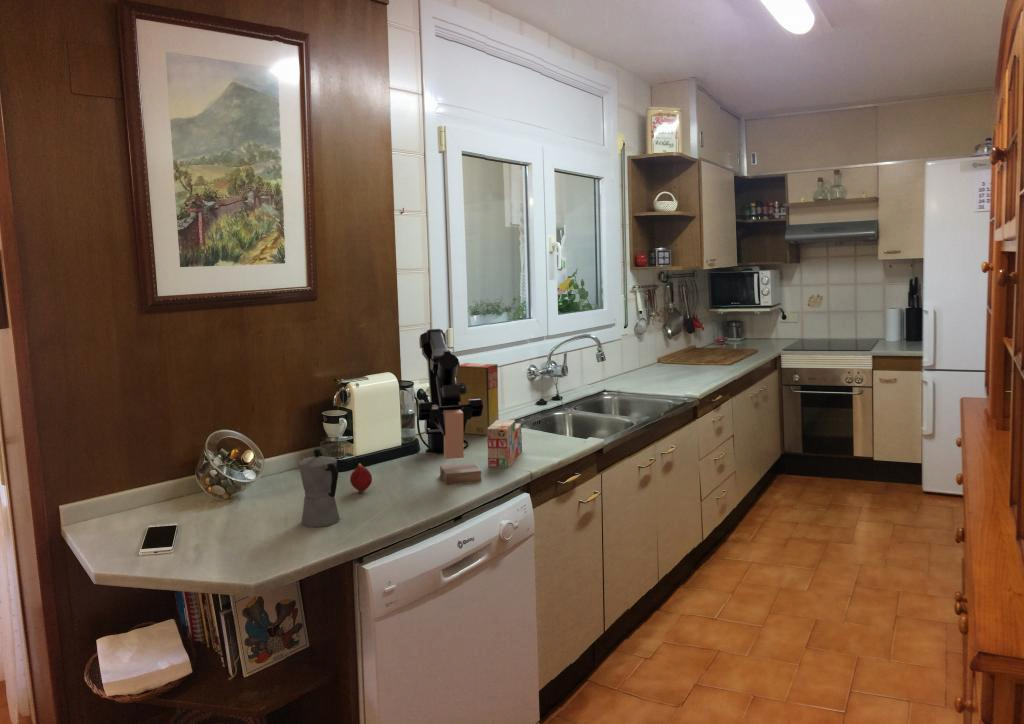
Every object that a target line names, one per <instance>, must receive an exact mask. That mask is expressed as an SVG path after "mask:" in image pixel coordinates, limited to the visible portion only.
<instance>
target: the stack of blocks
mask: <svg viewBox="0 0 1024 724" xmlns="http://www.w3.org/2000/svg"><path fill="white" fill-rule="evenodd" d="M522 435H523V433H522V423H518V422H517V423H516V420H513V419H499V420H496V421H495V422H494V423H493V424H492V425H491V426H490V427H489V428H487V436H486V438H487V441H486V443H487V466H488V468H500V467H508V466H509V465H510V464H511V463H512V464H513V462H514V461H515V460H514V459H516V458H517V457H518V456H519V455H520V454H521V452H522V451H523V436H522ZM512 464H511V465H512ZM511 465H510V466H511ZM510 466H509V467H510ZM509 467H508V468H509Z"/></svg>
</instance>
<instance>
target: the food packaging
mask: <svg viewBox="0 0 1024 724" xmlns="http://www.w3.org/2000/svg"><path fill="white" fill-rule="evenodd" d="M498 367H499V366H498V364H497V363H474V362H473V363H471V362H465V363H461V364H460V366H458V370H457V376H456V378H455V380H456V385H459V383H464V382H465V384H466V394H462V395H461V396H460V398H461V401H460V402H459V405H467V404H468V401H469V399H481V400H482V401H483V410H482V415H481V416H479V417H471V419H468V420H467V423H466V426H465V432H464V434H463V435H473V436H485V437H487V428H489V427H490V426H491V425H492V424H493V423H494V422H495V421H496V420H500V419H499V377H498V375H499V374H498V373H499V372H498V369H499V368H498Z"/></svg>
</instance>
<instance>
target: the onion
mask: <svg viewBox="0 0 1024 724" xmlns="http://www.w3.org/2000/svg"><path fill="white" fill-rule="evenodd" d="M349 478H350V479H349V480H350V484H351V486H352V487H353V488H354V489H355V490H357V491H358V492H359V493H364V492H365V491H366V490H367V489H368V488H369V487H370V486H371V484H372V482H373V476H372V473H371V472H370V471H369V469H368V468H366V467H365V466H364V465H362V464H361V463H358V465H357V467H356V468H355V469H354V470H353V471H352V472H351V474H350V477H349Z"/></svg>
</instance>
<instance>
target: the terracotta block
mask: <svg viewBox="0 0 1024 724" xmlns="http://www.w3.org/2000/svg"><path fill="white" fill-rule="evenodd" d="M443 413H444V427H445V436H444V452H443V456H444V458H445V459H446V460H447V459H464V434H463V412H462V411H461V410H443Z"/></svg>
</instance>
